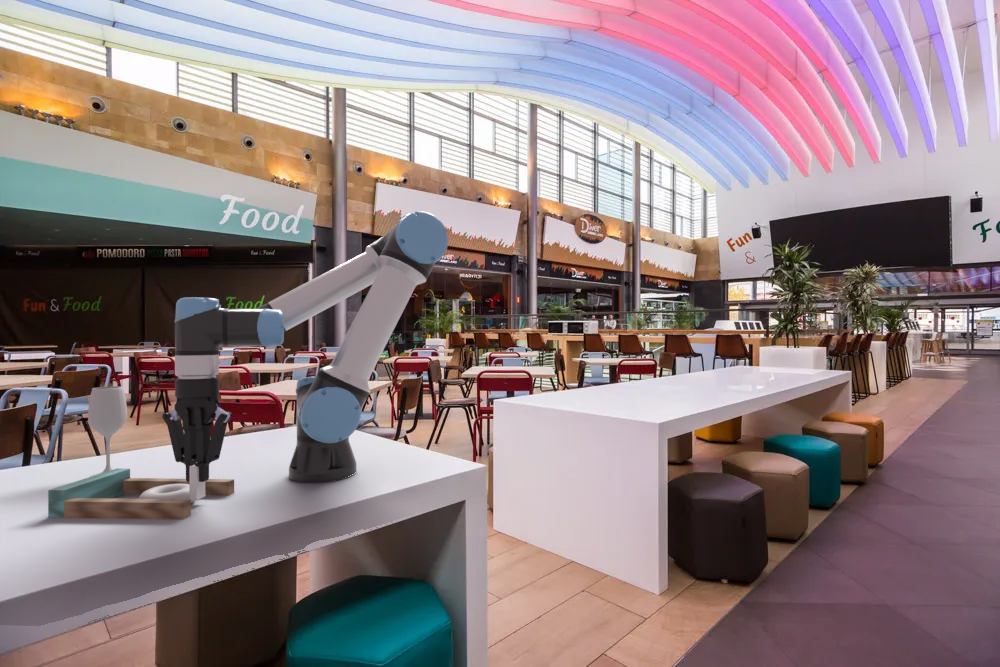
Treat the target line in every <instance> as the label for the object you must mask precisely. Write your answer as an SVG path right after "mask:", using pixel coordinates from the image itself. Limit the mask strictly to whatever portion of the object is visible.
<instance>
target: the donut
mask: <svg viewBox="0 0 1000 667" xmlns="http://www.w3.org/2000/svg"><path fill="white" fill-rule="evenodd" d="M137 499H172V500H189V484H168V485H162V486H158V487H154V488H151V489H148V490H146V491H144V492H143V493H142V494H141V495H139V497H138V498H137ZM195 501H196V500H191V504H193V503H194V502H195Z"/></svg>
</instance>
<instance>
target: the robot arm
mask: <svg viewBox="0 0 1000 667" xmlns="http://www.w3.org/2000/svg"><path fill="white" fill-rule="evenodd" d="M448 246H449V235H448V232H447V229H446V226H445V224H444V223H443V221H441V219H439V217H438V216H436V215H434V214H433V213H430V212H427V211H421V210H420V211H419V210H418V211H413V212H409V213H407V214H405V215H404V216H402V218H401V219H399V221H398V222H397V223H396V224H394V226H392V227H391V228H390V229H389V230H388V231H387V232H386V233H385V234H384V235H383V236H381V237H380V238H379V239H377V240H375V241H374V242H372V243H370V244H368V245H367V246H366V247H365V251H364V252H362V253H361V254H359V255H356V256H355V257H352V258H351V259H349V260H347V261H345V262H344V263H341V264H339V265H337V266H336V267H333V268H332V269H330V270H327V271H326V272H324V273H322V274H321V275H318V276H316V277H315V278H313V279H311V280H309V281H307V282H305V283H303V284H301V285H299V286H297V287H295V288H293V289H292V290H290V291H288V292H285V293H283V294H282V295H280V296H278V297H276V298H274V299H272V300H270V301H269V302H267V303H265V304H263V305H261V306H259V307H256V308H223V307H221V305H220V301H219V299H217V298H213V297H201V296H200V297H197V296H195V297H193V296H191V297H187V296H186V297H181V298H179V299H178V300H177V301H176V303H175V319H174V348H175V349H174V352H175V354H174V375H175V376H176V377H178V378H176V380H174V396H175V399H176V401H175V404H174V408H173V409H171V410H170V411H168V412H164V413H163V414H162V420H163V421H164V422H165V424H166V425H167V430H168V433H169V439H170V442H171V446H172V447H171V448H172V452H173V455H174V460H175V462H176V463H182V464H184V465H185V466H184V467H185V479H186V481H187V482H189V500H195V501H199V500H200V499H202V498H205V497H206V495H205V481H207V480H208V479H210V464H211V463H212V462H215V461H217V460H219V459H220V456H221V452H222V448H223V443H224V439H225V435H226V430H227V426H228V424H229V422H230V420H231V418H232V417H233V414H232V412H231V411H225V410H224V408H223V409H222V407H221V403H220V401H219V395H220V378H219V377H217V375H219V374H220V347H273V346H281V345H282V344H283V343H284V342H285V332H287V331H288V330H290V329H292V328H294V327H296V326H298V325H300V324H302V323H303V322H306V321H307V320H309V319H311V318H313V317H314V316H316V315H318V314H320V313H322V312H324V311H325V310H327V309H329V308H331V307H333V306H335V305H337V304H339V303H340V302H342V301H344V300H346V299H347V298H349V297H352V296H354V295H355V294H356V293H357V294H358V293H359V292H361V291H362V290H364V289H366V288H368V287H370V288H369V290H368V292H367V294H366V296H365V298H364V299H363V302H362V304H361V306H360V308H359V310H358V312H357V313H356V316H355V317H354V319H353V321H352V322H351V325H350V326H349V328H348V330H347V333H346V334H345V336H344V338H343V340H342V342H341V344H340V345H339V347H338V350H337V352H336V353H335V355H334V357H333V360H332V361H331V363H329V365H326V366H323V367H320V368H319V370H318V371H317V374H316V375H315V376H307V377H305V376H304V377H301V378H299V379H298V380H297V382H296V388H295V394H296V446H295V448H294V452H293V454H292V458H291V461H290V464H289V467H288V479H289V480H291V481H293V482H296V483H303V484H306V483H308V484H309V483H310V484H313V483H314V484H315V483H316V484H318V483H319V484H320V483H328V482H329V483H330V482H335V481H334V480H336V481H340V480H339V479H341V480H343V479H342V478H345V477H348V476H350V475H352V474H354V473H355V472H356V473H357V461H356V458H355V455H354V451H353V449H352V446H351V443H350V440H349V438H350V436H351V435H353V434H354V432H355V431H356V430H357V428H358V426H359V424H360V421H361V417H362V409H363V407H364V405H365V403H366V401H367V399H368V397H369V395H370V393H371V390H370V386H369V379H370V377H371V376H372V373H373V371H374V369H375V368H376V365H377V364H378V361H379V359H380V358H381V356H382V355H383V352H384V349H385V348H386V346H387V344H388V341H389V340H390V338H391V336H392V334H393V332H394V330H395V328H396V326H397V324H398V322H399V320H400V318H401V316H402V314H403V313H404V310H405V309H406V306H407V305H408V303H409V300H410V298H411V297H412V294H413V292H414V291H415V289H416V287H417V286H418V285H422V284H424V283H426V282H427V280H428V278H429V277H430V275H431V272H432V270H433V269H434V266H435V264H436V263H437V262H438V261H440V260H441V259H442V257H443V256H444V255H445V253H446V251H447V250H448ZM213 419H214V420H215V422H214V424H213ZM212 428H213V429H212ZM211 429H212V432H211ZM354 475H355V474H354ZM348 478H349V477H348ZM345 479H346V478H345Z"/></svg>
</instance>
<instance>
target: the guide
mask: <svg viewBox="0 0 1000 667" xmlns="http://www.w3.org/2000/svg"><path fill="white" fill-rule="evenodd" d="M100 473H101V472H100ZM90 476H91V475H90ZM168 484H189V482H187V481H186V478H163V477H161V478H157V477H155V478H150V477H148V478H145V477H143V478H142V477H141V478H140V477H131V468H114V469H112V470H110V471H107V472H104V473H101V474H98V475H95V476H91V477H85V478H82V479H79V480H76V481H73V482H70V483H67V484H62V485H59V486H57V487H53V488H50V489H48V490H47V499H48V500H47V501H48V502H47V503H48V508H47V510H48V511H47V512H48V513H47V514H48V518H55V519H56V518H57V519H58V518H62V519H63V518H64V519H72V518H73V519H121V520H122V519H129V520H130V519H135V520H136V519H137V520H141V519H142V520H185V519H187V518H189V517H191V516H192V503H191V500H172V499H138V498H118V497H120V496H122V495H128V496H129V495H137V496H138V495H139V496H140V495H141V494H142V493H143V492H144V491H146V490H148V489H151V488H154V487H158V486H162V485H168ZM234 493H235V478H234V479H232V478H231V479H230V478H229V479H227V478H226V479H225V478H224V479H223V478H217V479H216V478H209V479H208V480H207V481H205V496H227V497H229V496H230V495H232V494H234Z"/></svg>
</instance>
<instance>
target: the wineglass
mask: <svg viewBox="0 0 1000 667" xmlns="http://www.w3.org/2000/svg"><path fill="white" fill-rule="evenodd" d="M88 402H89V403H88V411H87V420H88V423H89V426H90V427H91V428H92V430H94V432H97V434H100V436H103V437H104V438H105V450H106V451H105V452H106V453H105V454H106V455H105V458H106V459H105V460H106V463H105V468H104V470H103V471H101V472H97V473H93V474H91V475H89V477H91V476H95V475H98V474H101V473H104V472H107V471H110V470H113V468H112V467H111V454H110V453H111V439H112V436H113V435H115V434H116V433H117V432H118V431H119V430H120V429H121V428H122V427H123V426H124V425H125V423H126V422H127V419H128V406H127V399H126V394H125V389H124V386H98V387H92V388H91V392H90V398H89V401H88Z"/></svg>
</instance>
